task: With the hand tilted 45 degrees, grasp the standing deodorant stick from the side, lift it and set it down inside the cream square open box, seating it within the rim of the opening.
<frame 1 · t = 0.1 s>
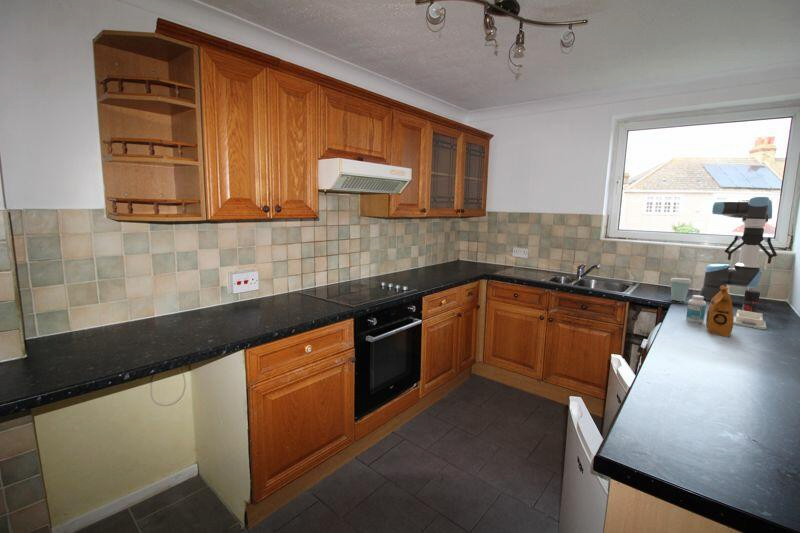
hand: (747, 268, 201), 28 cm above the worktop, tool pointing down, fingers open, 13 cm apart
pill bottle: (694, 321, 200), on the worktop
coffee package: (717, 332, 183), on the worktop
deodorant: (747, 318, 208), on the worktop
cream square open box: (748, 323, 199), on the worktop
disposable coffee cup: (677, 301, 243), on the worktop
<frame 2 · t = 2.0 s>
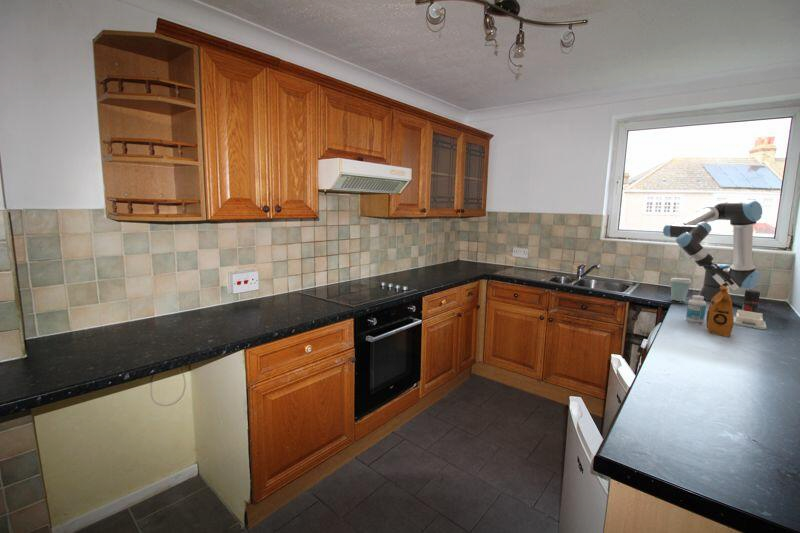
hand: (729, 286, 208), 17 cm above the worktop, tool tilted 45°, fingers open, 13 cm apart
nothing on the worktop moved.
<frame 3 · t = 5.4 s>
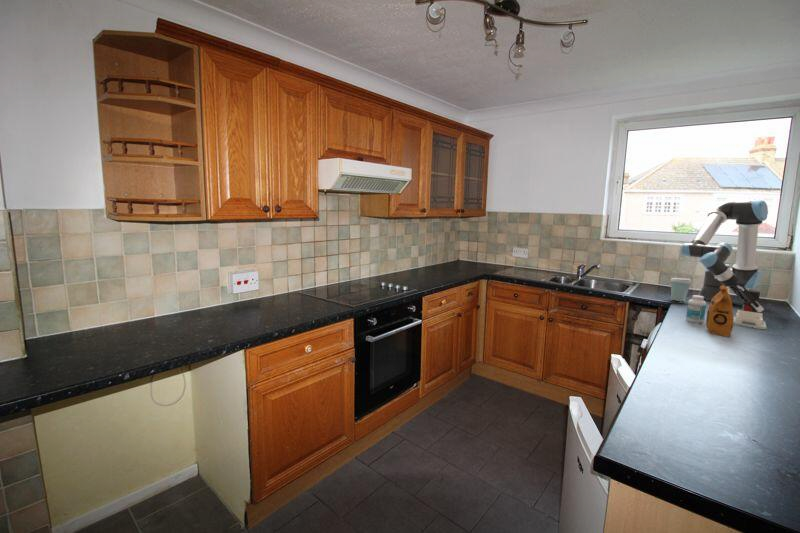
hand: (757, 309, 206), 5 cm above the worktop, tool tilted 45°, fingers closed on deodorant, 6 cm apart
deodorant: (747, 318, 208), on the worktop, touching gripper
everything else where it was.
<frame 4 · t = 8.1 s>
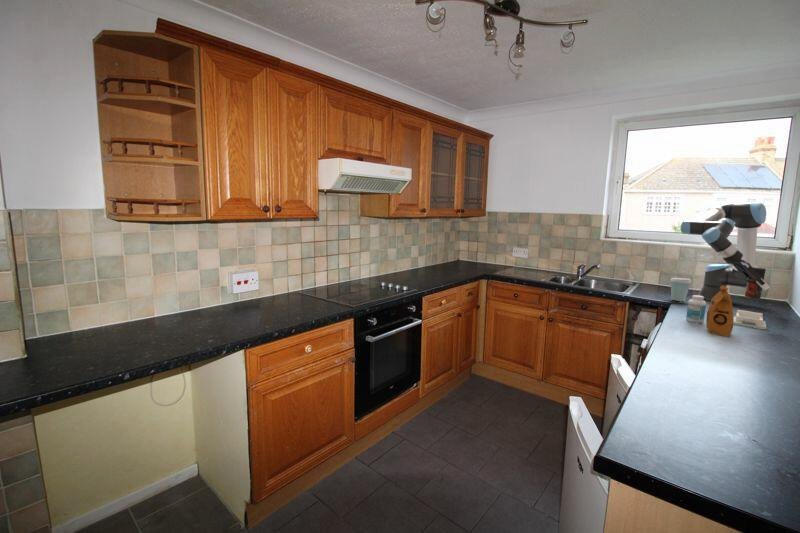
hand: (763, 287, 194), 19 cm above the worktop, tool tilted 45°, fingers closed on deodorant, 6 cm apart
deodorant: (752, 297, 196), point 14 cm above the worktop, touching gripper
everything else where it was.
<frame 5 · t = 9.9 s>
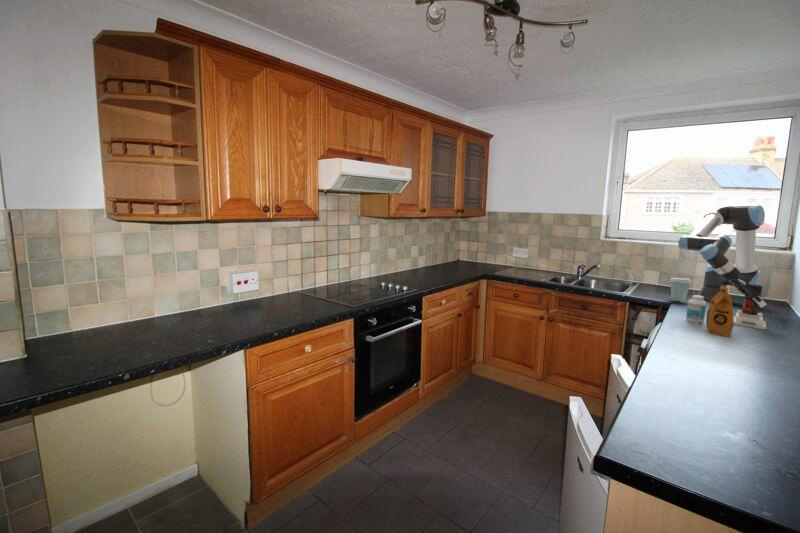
hand: (759, 304, 196), 11 cm above the worktop, tool tilted 45°, fingers closed on deodorant, 6 cm apart
deodorant: (749, 313, 198), point 5 cm above the worktop, touching gripper
everything else where it was.
when the fingers open (8 cm above the worktop, at t = 11.1 s): deodorant stays where it is, resting on cream square open box.
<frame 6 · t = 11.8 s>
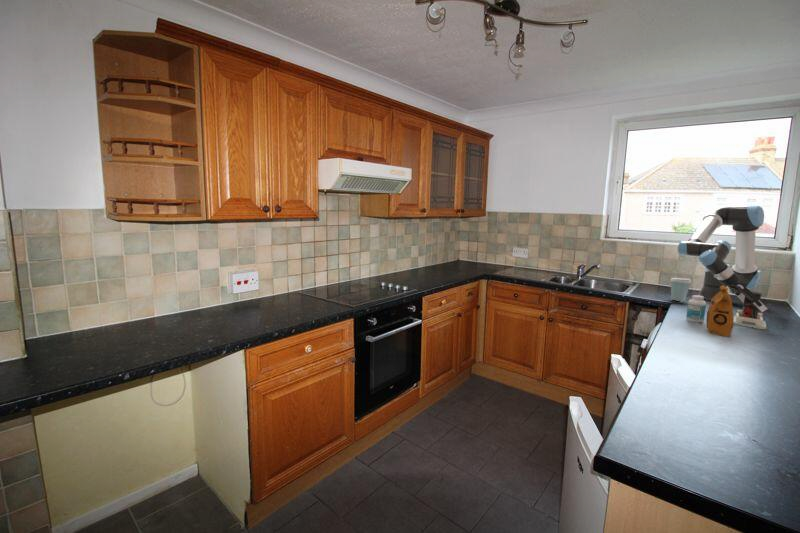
hand: (756, 307, 196), 9 cm above the worktop, tool tilted 45°, fingers open, 13 cm apart
deodorant: (748, 321, 198), point 1 cm above the worktop, touching cream square open box
everything else where it was.
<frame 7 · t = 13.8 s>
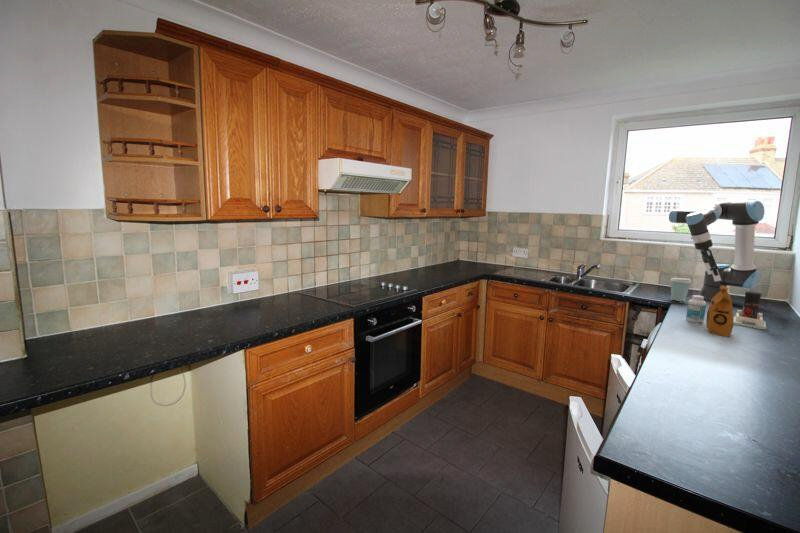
hand: (714, 277, 207), 22 cm above the worktop, tool tilted 25°, fingers open, 13 cm apart
nothing on the worktop moved.
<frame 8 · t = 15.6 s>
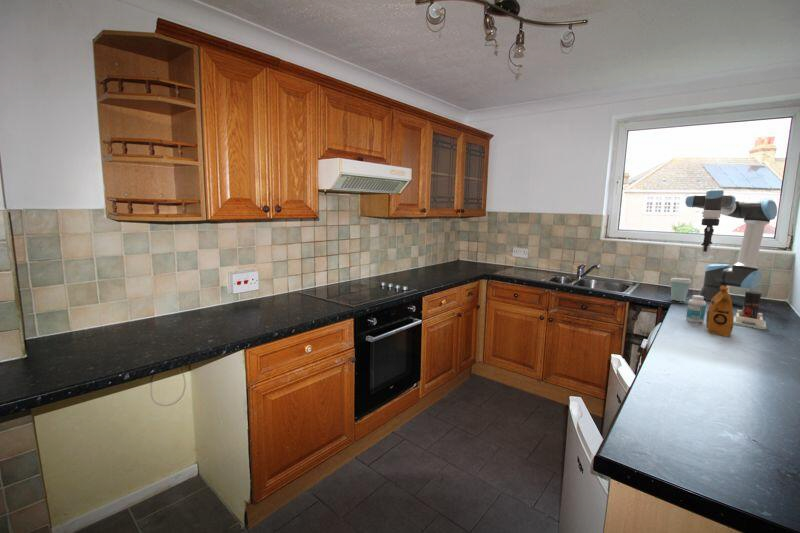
hand: (705, 256, 215), 32 cm above the worktop, tool pointing down, fingers open, 13 cm apart
nothing on the worktop moved.
at the end: deodorant 0.1 cm off-centre on the cream square open box, point 1.0 cm above the cream square open box's base; deodorant tilted 0°; the gripper is holding nothing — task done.
